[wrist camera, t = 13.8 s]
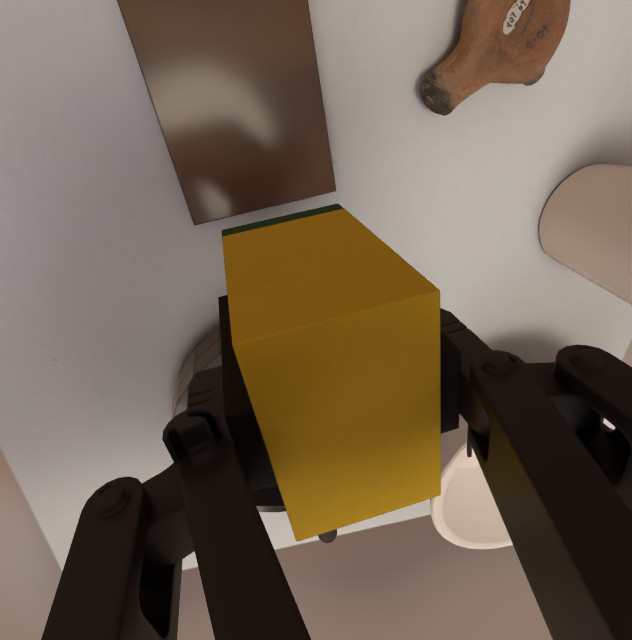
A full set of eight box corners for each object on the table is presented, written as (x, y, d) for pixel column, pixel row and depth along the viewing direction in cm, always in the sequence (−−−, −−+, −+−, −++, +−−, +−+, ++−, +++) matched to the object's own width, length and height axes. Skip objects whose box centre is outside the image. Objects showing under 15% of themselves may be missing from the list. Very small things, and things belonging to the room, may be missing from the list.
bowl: (595, 320, 41) (674, 366, 34) (547, 463, 52) (600, 521, 45) (401, 355, 38) (445, 414, 31) (391, 502, 48) (422, 571, 41)
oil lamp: (415, -32, 25) (410, 116, 29) (439, -51, 21) (429, 120, 25) (559, -44, 25) (534, 104, 29) (605, -64, 22) (569, 107, 26)
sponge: (221, 229, 15) (231, 344, 8) (338, 202, 15) (441, 290, 9) (264, 377, 19) (296, 542, 12) (358, 351, 19) (441, 495, 12)
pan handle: (303, 484, 39) (307, 502, 38) (322, 477, 40) (328, 495, 38) (317, 531, 44) (321, 549, 42) (335, 525, 44) (340, 543, 42)
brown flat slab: (103, -43, 21) (101, -46, 20) (293, -75, 22) (296, -79, 21) (194, 223, 28) (194, 225, 27) (334, 189, 29) (336, 191, 28)
